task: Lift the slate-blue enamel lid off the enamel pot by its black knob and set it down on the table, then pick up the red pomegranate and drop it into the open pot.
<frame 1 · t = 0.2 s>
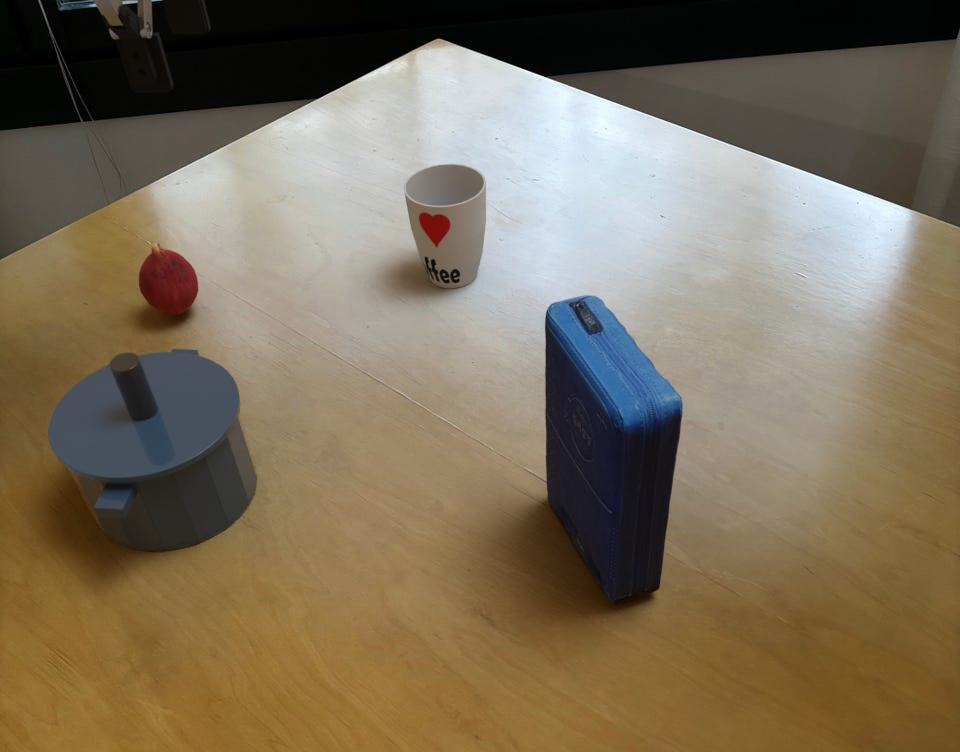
hand: (173, 60, 83), 29 cm above the table, tool pointing down, fingers open, 9 cm apart
blue case: (600, 547, 88), on the table
lid: (146, 416, 89), point 8 cm above the table, touching pot
cup: (453, 275, 114), on the table
pot: (175, 491, 96), on the table
red pomegranate: (179, 315, 113), on the table
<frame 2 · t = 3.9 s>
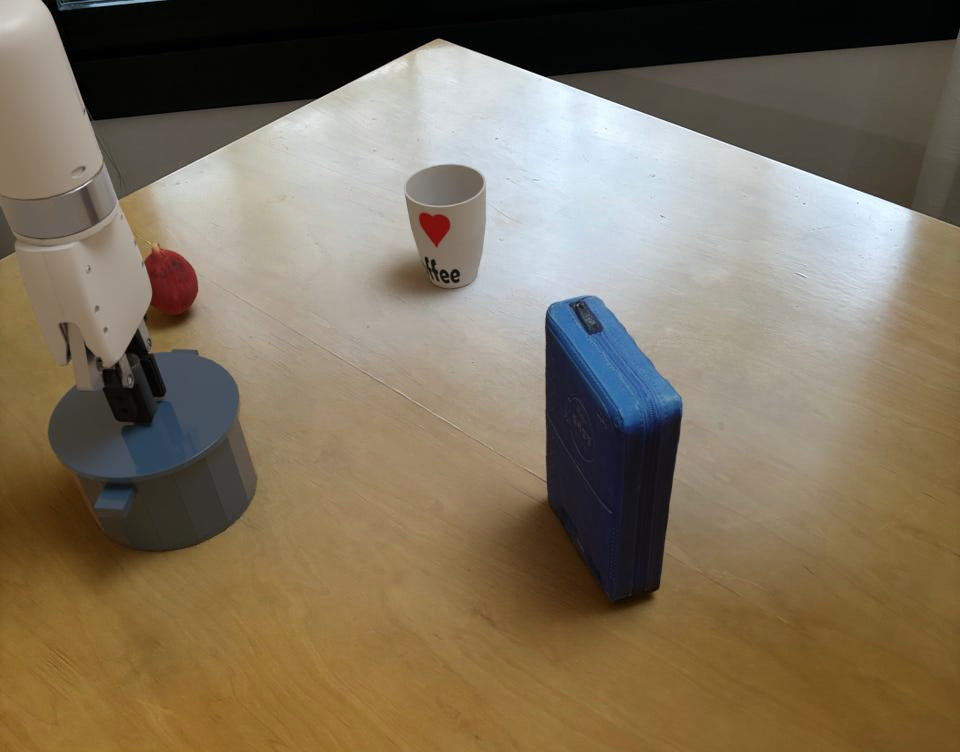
hand: (141, 405, 88), 10 cm above the table, tool pointing down, fingers closed on lid, 2 cm apart
lid: (146, 416, 89), point 9 cm above the table, touching gripper, pot
everything else where it was.
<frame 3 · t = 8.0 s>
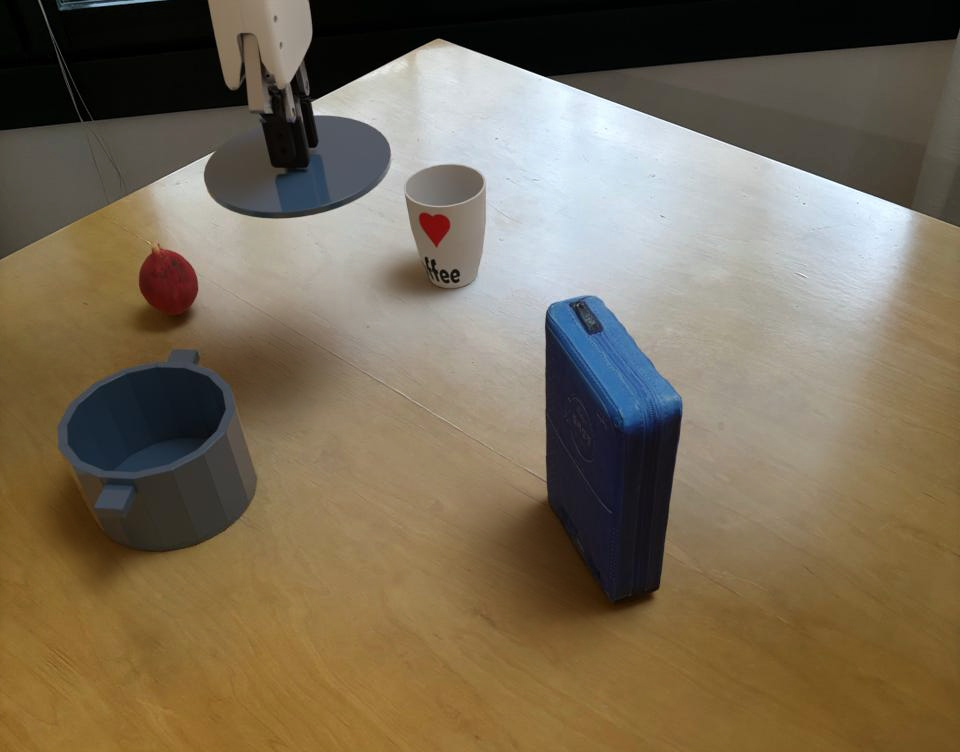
hand: (295, 154, 90), 21 cm above the table, tool pointing down, fingers closed on lid, 2 cm apart
lid: (298, 167, 90), point 20 cm above the table, touching gripper
everything else where it was.
when the fingers open (2 cm above the table, at t = 12.2 s): lid stays where it is, point 1 cm above the table.
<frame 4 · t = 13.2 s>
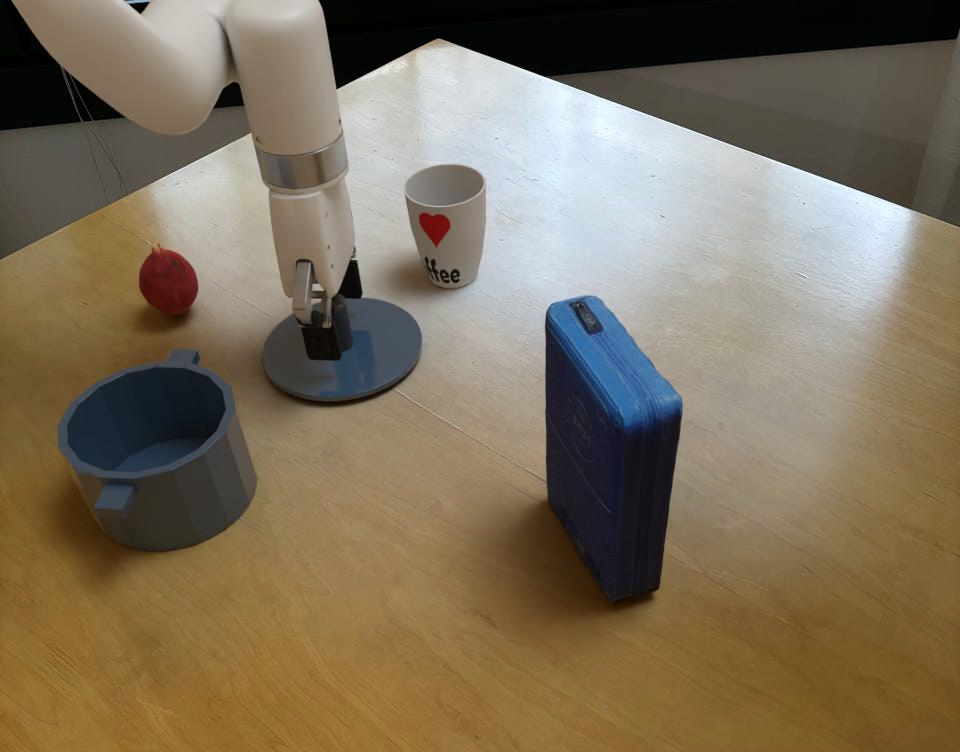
hand: (336, 326, 104), 3 cm above the table, tool pointing down, fingers open, 9 cm apart
lid: (342, 349, 106), point 1 cm above the table
everything else where it was.
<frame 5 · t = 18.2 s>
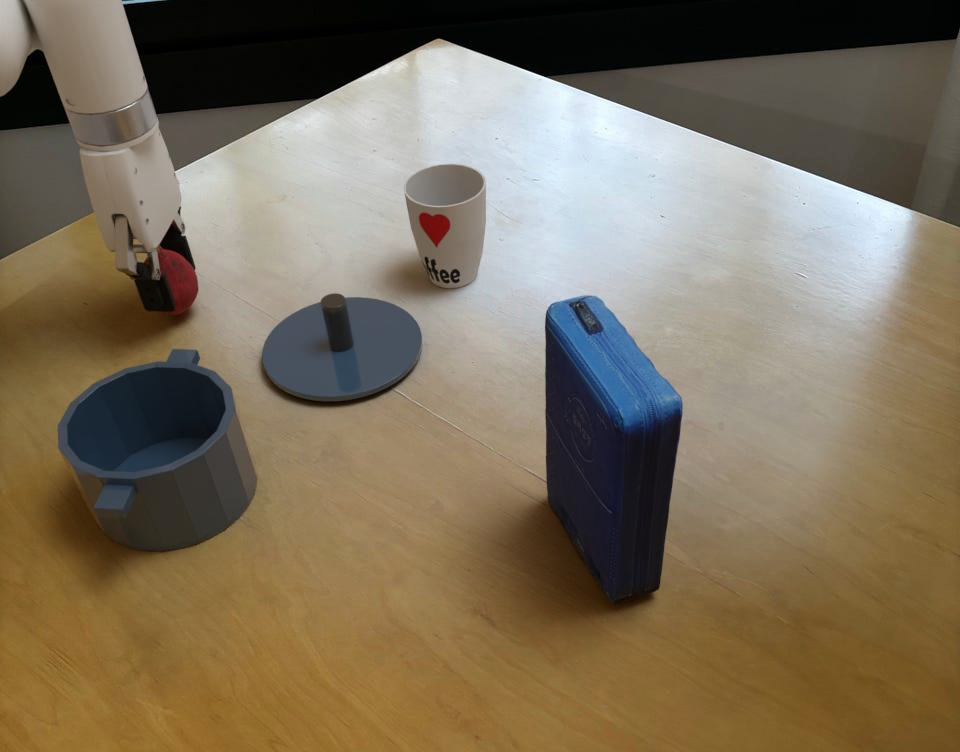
hand: (170, 288, 110), 3 cm above the table, tool pointing down, fingers closed on red pomegranate, 5 cm apart
red pomegranate: (179, 315, 113), on the table, touching gripper
everything else where it was.
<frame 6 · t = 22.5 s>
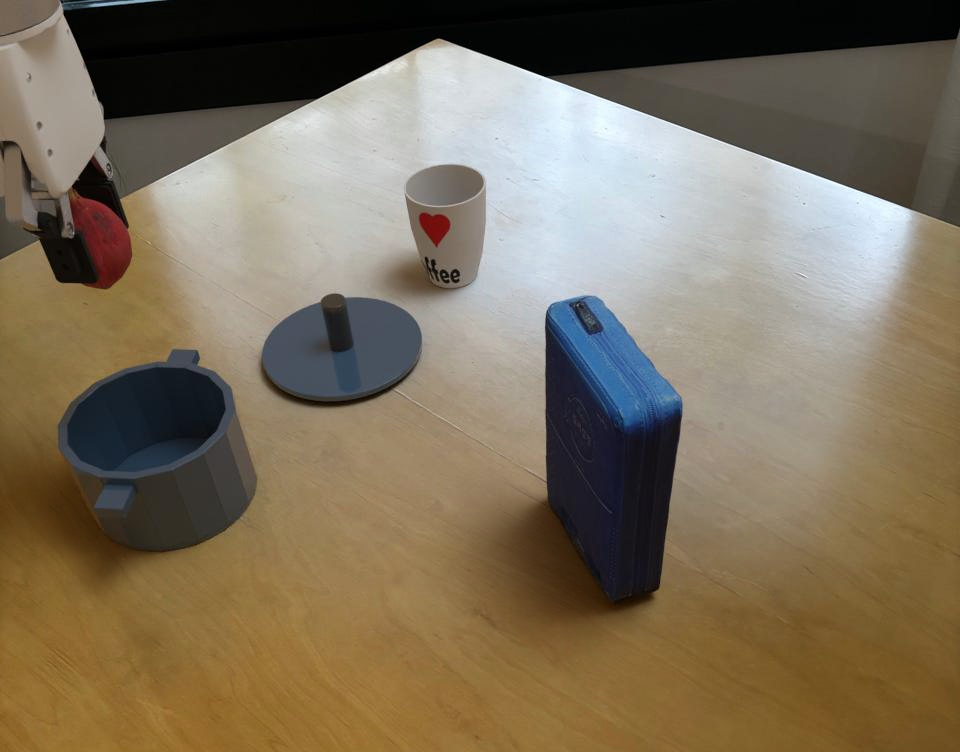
hand: (94, 253, 81), 21 cm above the table, tool pointing down, fingers closed on red pomegranate, 5 cm apart
red pomegranate: (108, 289, 84), point 18 cm above the table, touching gripper
everything else where it was.
when the fingers open (6 cm above the table, at t = 26.8 s): red pomegranate drops 2 cm, resting on pot.
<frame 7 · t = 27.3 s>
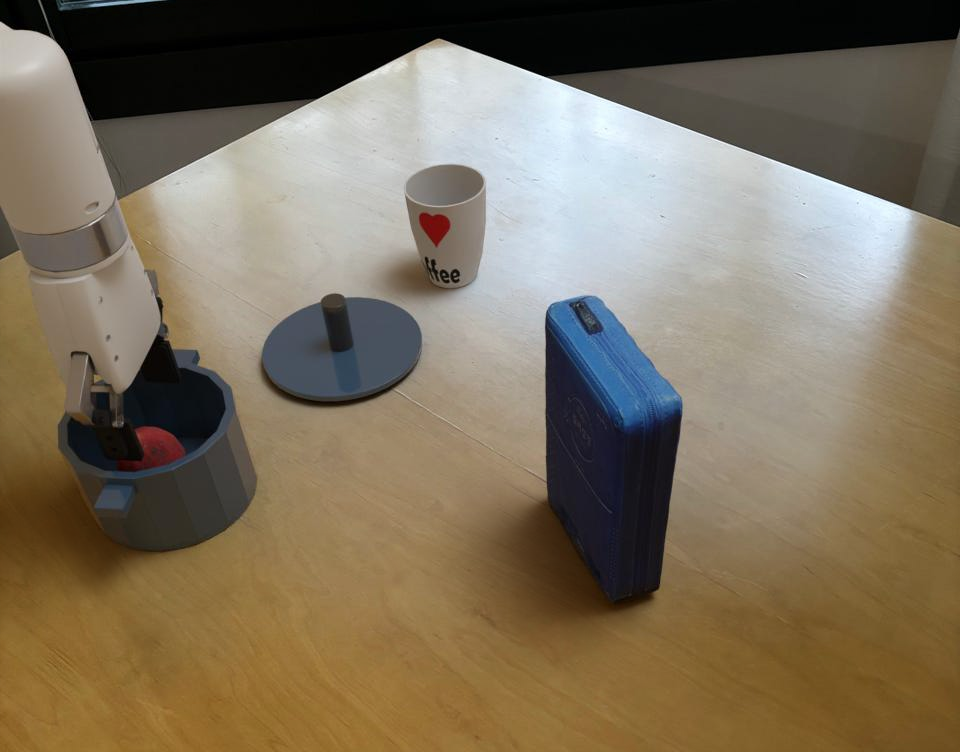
hand: (145, 418, 89), 8 cm above the table, tool pointing down, fingers open, 9 cm apart
red pomegranate: (172, 485, 95), point 1 cm above the table, touching pot
everything else where it was.
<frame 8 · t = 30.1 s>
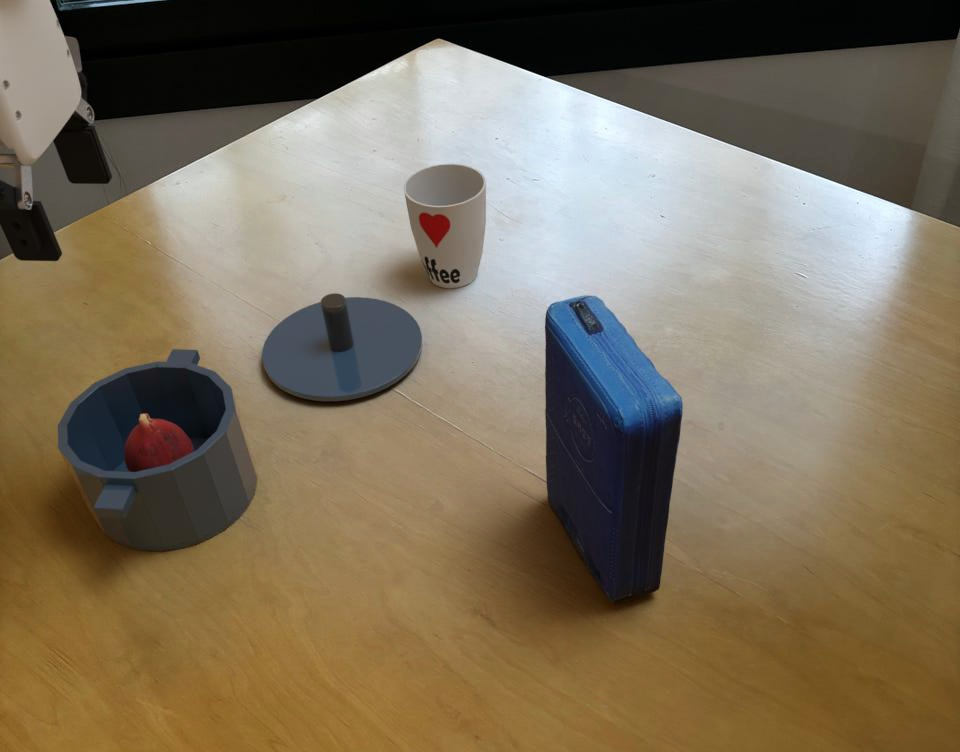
hand: (66, 218, 75), 26 cm above the table, tool pointing down, fingers open, 9 cm apart
at the end: lid inside the target area (0.1 cm from its centre), point 0.6 cm above the table; lid tilted 0°; red pomegranate inside the target area in the pot (0.1 cm from its centre), point 0.3 cm above the pot's base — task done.
